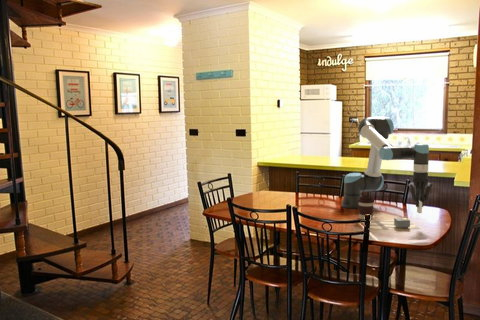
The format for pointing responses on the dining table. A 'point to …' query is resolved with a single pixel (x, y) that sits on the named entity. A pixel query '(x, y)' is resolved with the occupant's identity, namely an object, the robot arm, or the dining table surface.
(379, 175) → the robot arm
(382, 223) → the subfloor panel
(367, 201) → the coffee cup
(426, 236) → the dining table surface
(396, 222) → the block
